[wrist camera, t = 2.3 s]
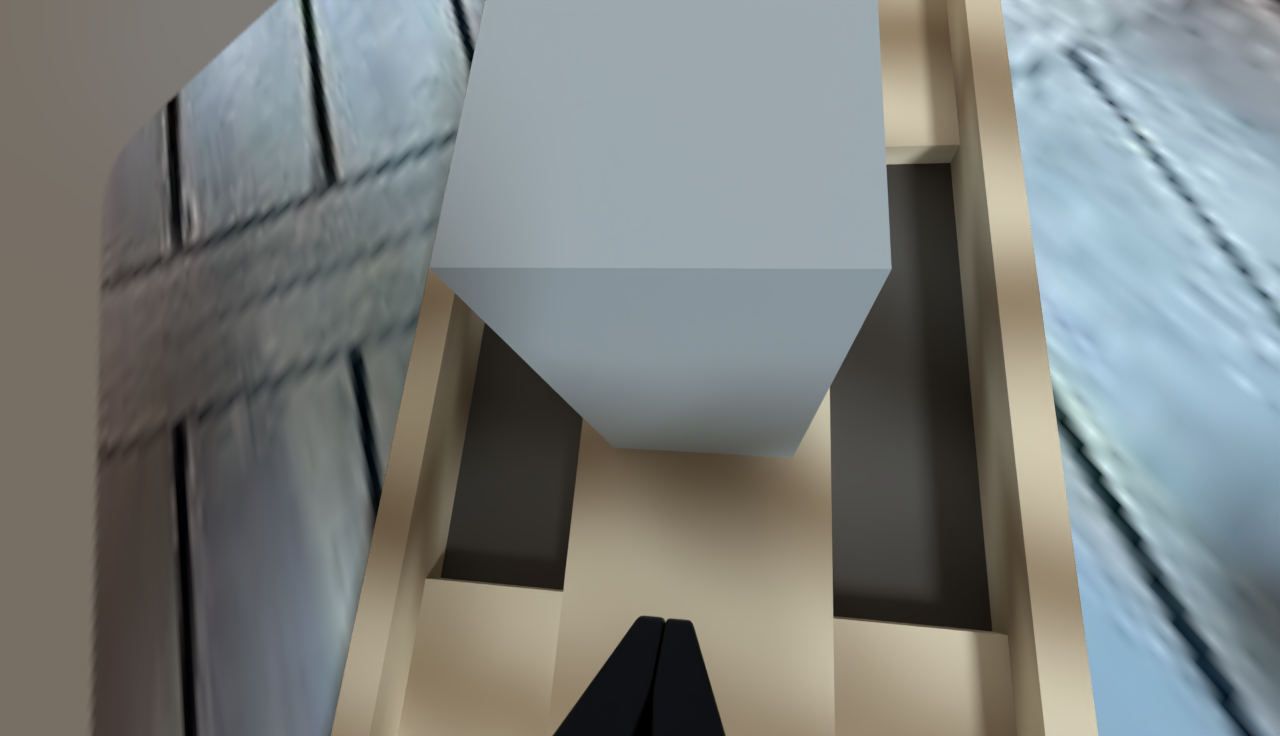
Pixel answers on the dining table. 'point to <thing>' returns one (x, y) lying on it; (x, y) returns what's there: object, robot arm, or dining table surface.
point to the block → (674, 208)
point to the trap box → (764, 489)
